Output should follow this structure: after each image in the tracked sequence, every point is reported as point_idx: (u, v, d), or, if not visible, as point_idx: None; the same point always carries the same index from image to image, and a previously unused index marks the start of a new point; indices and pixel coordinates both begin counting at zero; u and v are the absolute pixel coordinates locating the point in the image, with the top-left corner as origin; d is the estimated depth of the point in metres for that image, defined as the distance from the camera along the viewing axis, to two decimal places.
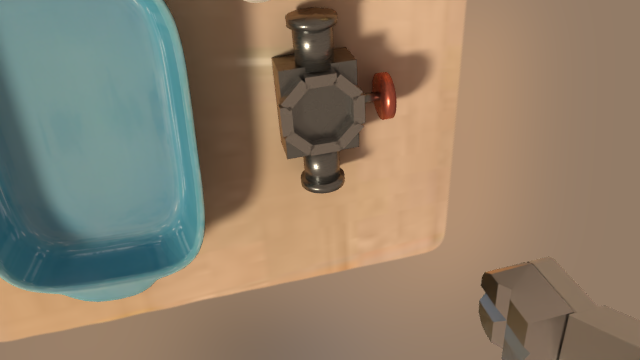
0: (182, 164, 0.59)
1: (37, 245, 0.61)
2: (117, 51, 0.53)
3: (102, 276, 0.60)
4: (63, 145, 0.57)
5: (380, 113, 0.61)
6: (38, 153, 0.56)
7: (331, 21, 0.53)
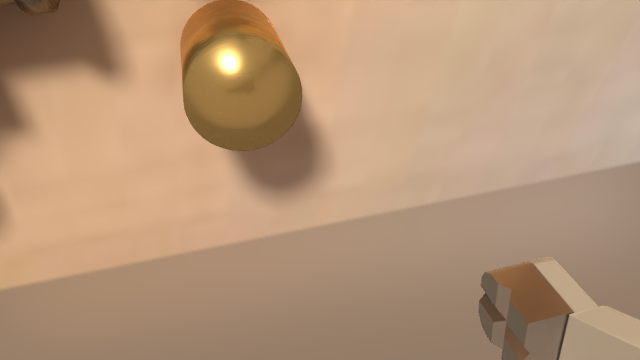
0: None
1: None
2: None
3: None
4: None
5: None
6: None
7: None
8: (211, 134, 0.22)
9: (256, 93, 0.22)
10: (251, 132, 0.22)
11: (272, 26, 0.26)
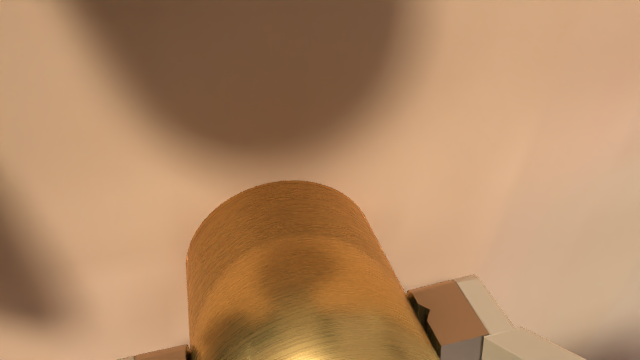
0: None
1: None
2: None
3: None
4: None
5: None
6: None
7: None
8: None
9: None
10: None
11: (372, 233, 0.13)
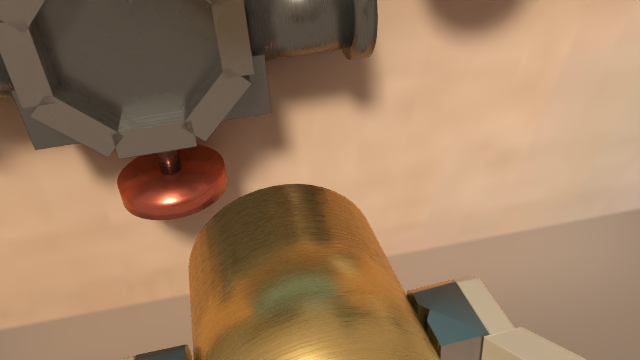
0: None
1: None
2: None
3: None
4: None
5: (129, 180, 0.26)
6: None
7: (367, 48, 0.23)
8: None
9: None
10: None
11: (374, 236, 0.13)
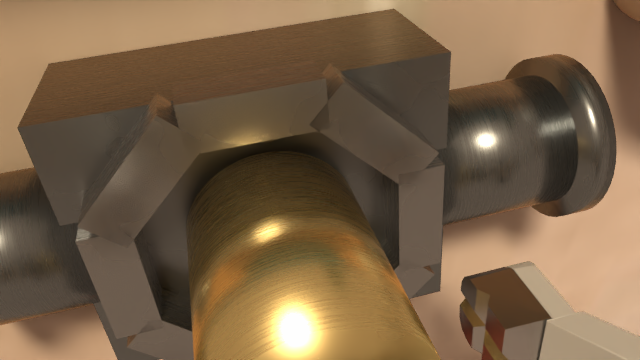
0: None
1: None
2: None
3: None
4: None
5: None
6: None
7: (583, 209, 0.17)
8: None
9: None
10: None
11: (355, 199, 0.14)
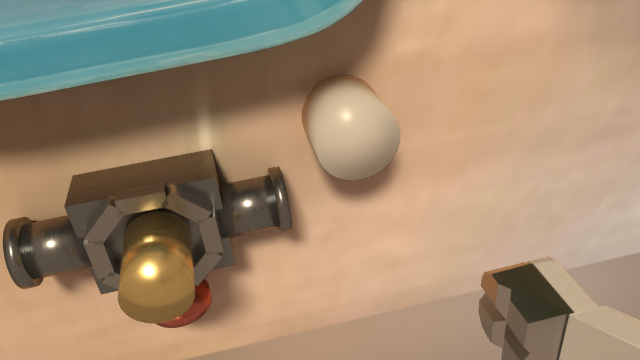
0: (30, 39, 0.32)
1: None
2: None
3: None
4: None
5: None
6: None
7: (288, 230, 0.41)
8: (137, 316, 0.35)
9: (164, 293, 0.35)
10: (163, 313, 0.35)
11: (184, 228, 0.38)
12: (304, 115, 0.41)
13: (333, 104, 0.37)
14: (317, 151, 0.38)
